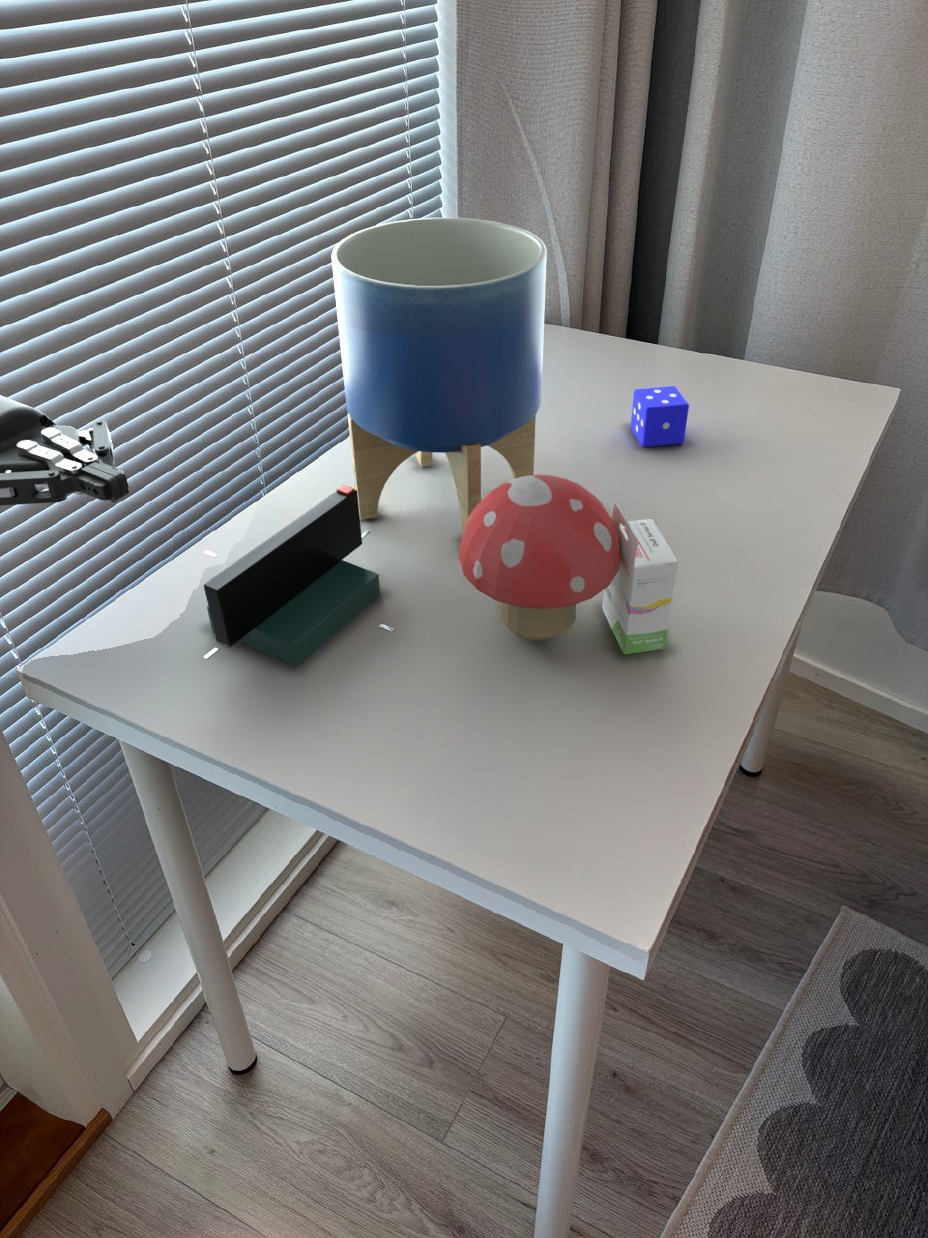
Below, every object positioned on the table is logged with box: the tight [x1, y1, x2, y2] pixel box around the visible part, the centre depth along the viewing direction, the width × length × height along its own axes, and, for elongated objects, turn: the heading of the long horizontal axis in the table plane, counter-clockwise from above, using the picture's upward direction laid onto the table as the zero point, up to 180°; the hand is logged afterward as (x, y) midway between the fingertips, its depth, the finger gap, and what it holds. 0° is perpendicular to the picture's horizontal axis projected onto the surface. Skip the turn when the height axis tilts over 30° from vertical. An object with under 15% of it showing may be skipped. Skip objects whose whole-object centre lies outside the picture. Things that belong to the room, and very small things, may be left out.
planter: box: [331, 217, 548, 532], centre depth 93 cm, size 19×19×26 cm
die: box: [630, 385, 690, 448], centre depth 110 cm, size 5×5×5 cm
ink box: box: [601, 500, 679, 656], centre depth 81 cm, size 7×4×12 cm, turn 10°
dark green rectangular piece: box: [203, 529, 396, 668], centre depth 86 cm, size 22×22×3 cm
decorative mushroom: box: [458, 474, 620, 641], centre depth 79 cm, size 13×13×15 cm
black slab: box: [203, 484, 363, 648], centre depth 83 cm, size 18×2×6 cm, turn 147°
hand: (120, 488), depth 79 cm, fingers closed
